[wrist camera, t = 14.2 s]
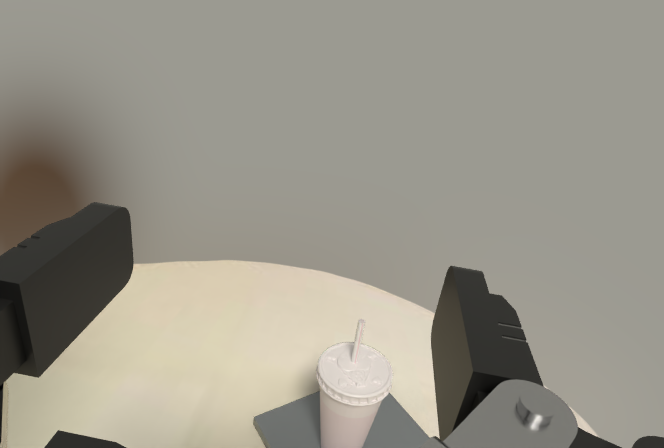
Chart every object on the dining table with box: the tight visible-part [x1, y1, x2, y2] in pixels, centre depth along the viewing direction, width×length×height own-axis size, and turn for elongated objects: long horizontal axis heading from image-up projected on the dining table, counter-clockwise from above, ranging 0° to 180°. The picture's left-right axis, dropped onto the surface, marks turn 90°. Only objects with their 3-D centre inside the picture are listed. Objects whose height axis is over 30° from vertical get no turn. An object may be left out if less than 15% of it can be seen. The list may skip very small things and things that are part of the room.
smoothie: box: [316, 319, 393, 448], centre depth 40 cm, size 6×6×14 cm
